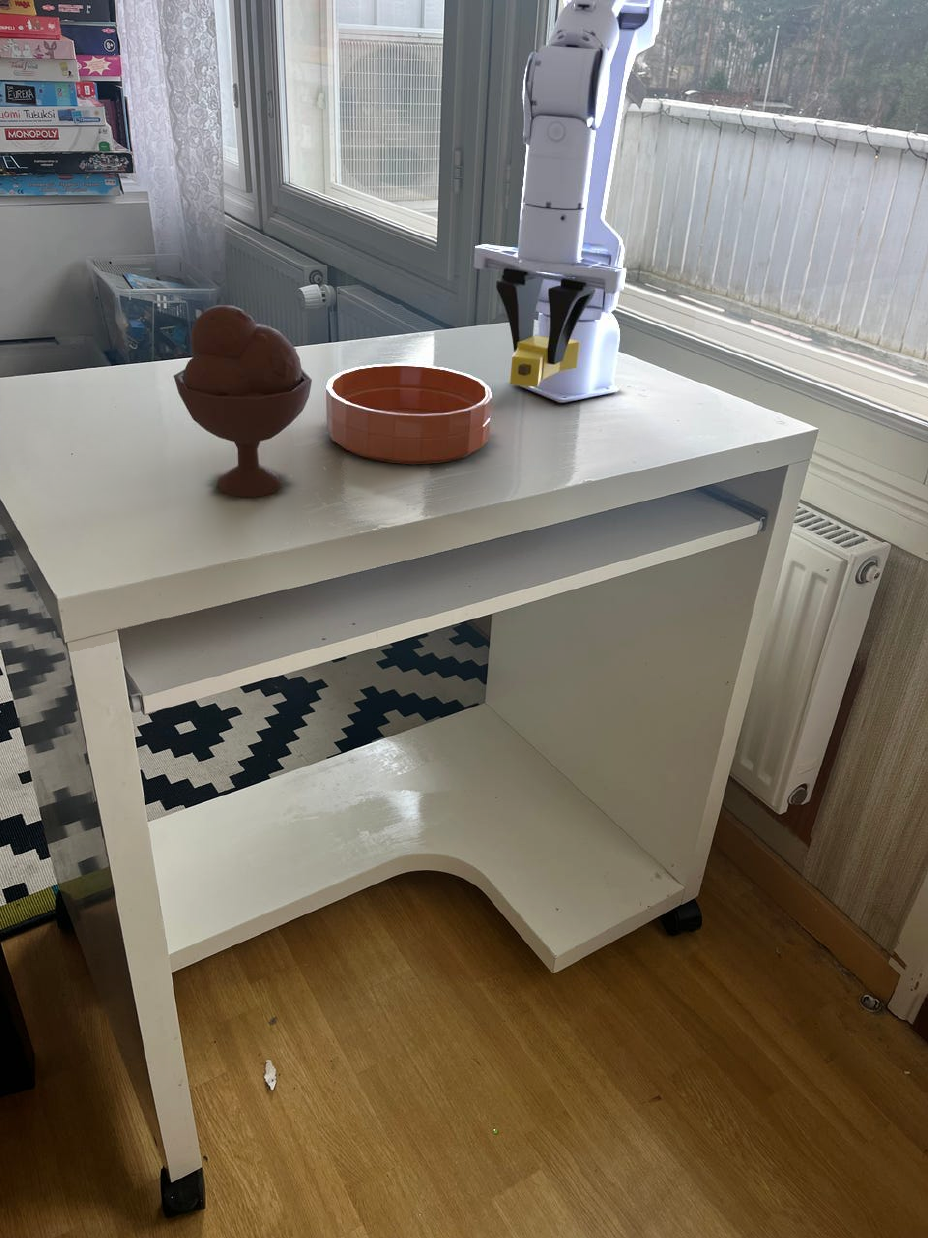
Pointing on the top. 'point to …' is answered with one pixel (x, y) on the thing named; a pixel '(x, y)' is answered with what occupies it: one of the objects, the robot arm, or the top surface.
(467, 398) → the bowl
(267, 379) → the ice cream bowl
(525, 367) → the yellow banana
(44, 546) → the top surface
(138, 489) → the top surface
